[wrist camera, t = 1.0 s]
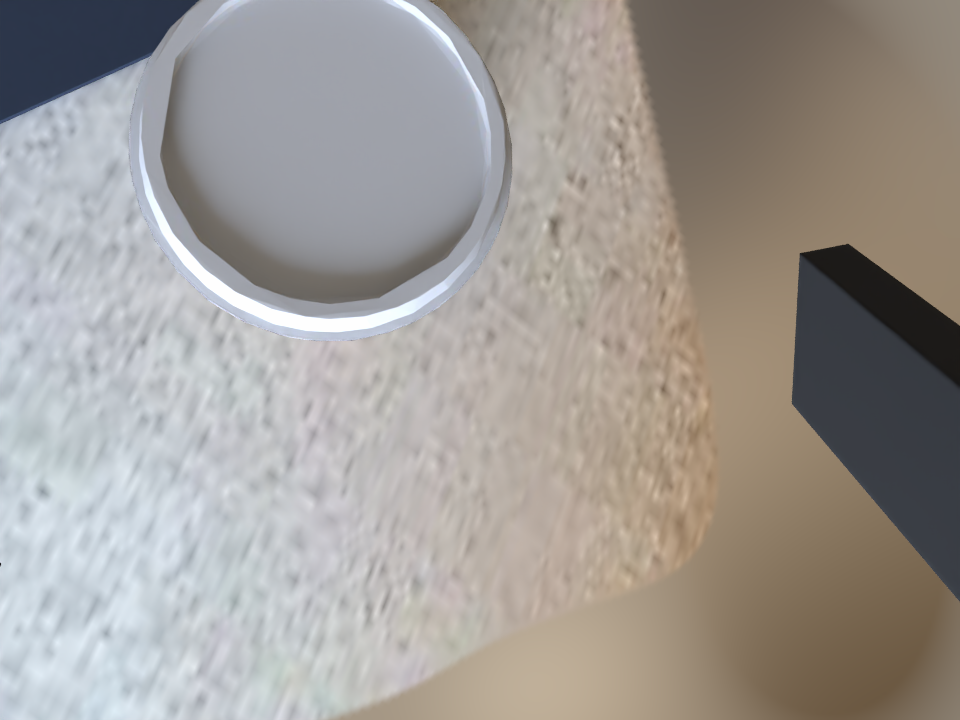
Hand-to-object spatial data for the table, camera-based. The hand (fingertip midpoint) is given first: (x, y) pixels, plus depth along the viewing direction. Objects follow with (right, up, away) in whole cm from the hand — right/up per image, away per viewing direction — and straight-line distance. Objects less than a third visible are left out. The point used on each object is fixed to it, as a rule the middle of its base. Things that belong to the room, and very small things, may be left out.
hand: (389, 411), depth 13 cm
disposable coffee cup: (-5, +6, +19) cm, 21 cm away
